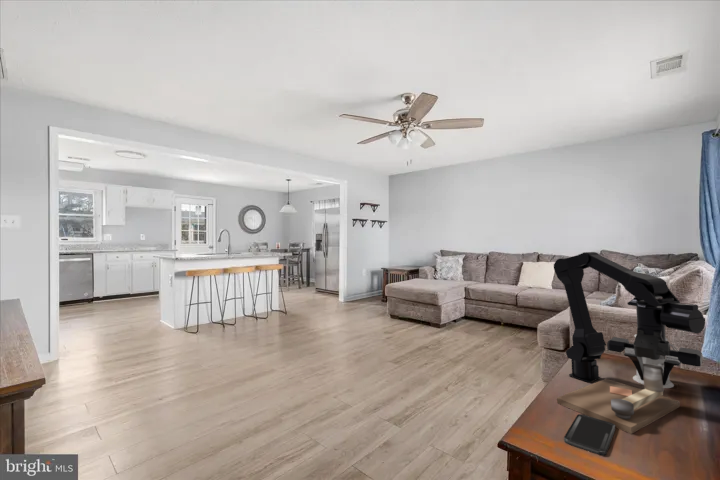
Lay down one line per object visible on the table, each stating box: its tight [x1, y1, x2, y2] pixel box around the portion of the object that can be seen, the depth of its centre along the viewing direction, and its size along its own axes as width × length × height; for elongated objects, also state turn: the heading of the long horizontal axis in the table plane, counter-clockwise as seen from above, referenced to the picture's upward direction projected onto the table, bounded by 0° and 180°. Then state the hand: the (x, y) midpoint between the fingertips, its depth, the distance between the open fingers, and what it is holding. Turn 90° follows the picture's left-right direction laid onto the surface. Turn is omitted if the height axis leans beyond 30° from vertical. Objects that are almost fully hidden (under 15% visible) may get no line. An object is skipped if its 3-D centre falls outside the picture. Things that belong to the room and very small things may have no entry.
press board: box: [556, 378, 681, 435], centre depth 91 cm, size 18×25×2 cm
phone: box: [563, 413, 616, 457], centre depth 78 cm, size 8×1×15 cm
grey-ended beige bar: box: [611, 364, 665, 416], centre depth 86 cm, size 20×4×8 cm, turn 117°
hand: (653, 382), depth 90 cm, fingers closed on grey-ended beige bar, 4 cm apart
